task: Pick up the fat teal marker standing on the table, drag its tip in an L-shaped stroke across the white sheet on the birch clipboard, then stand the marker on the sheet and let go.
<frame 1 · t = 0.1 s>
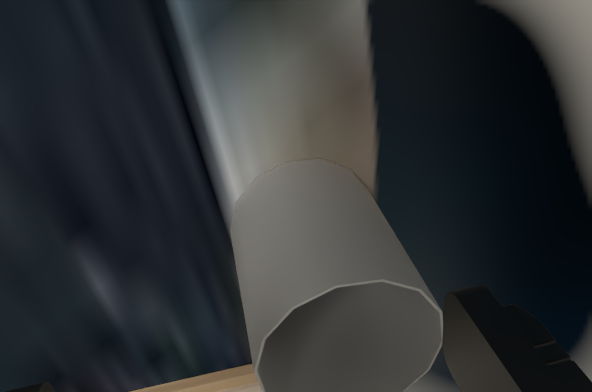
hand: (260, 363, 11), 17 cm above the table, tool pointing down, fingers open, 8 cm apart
cup: (301, 220, 31), on the table
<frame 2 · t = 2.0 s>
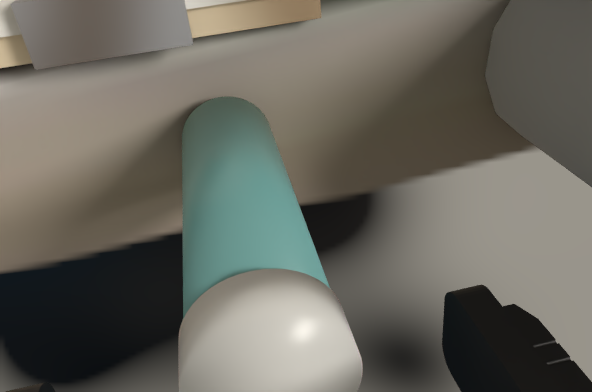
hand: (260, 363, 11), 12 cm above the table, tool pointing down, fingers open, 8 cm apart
cup: (577, 45, 22), on the table
marker: (226, 132, 21), on the table
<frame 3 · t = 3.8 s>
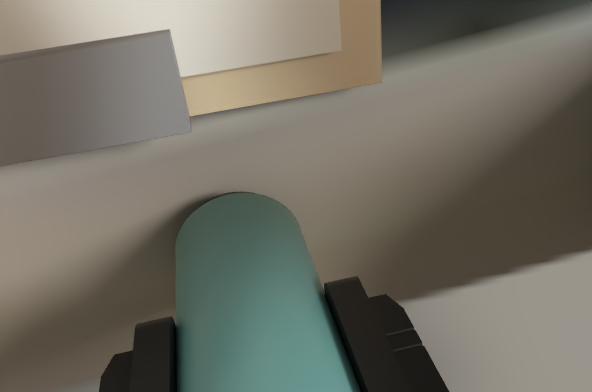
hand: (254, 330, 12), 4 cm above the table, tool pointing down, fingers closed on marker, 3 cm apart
marker: (237, 235, 15), on the table, touching gripper
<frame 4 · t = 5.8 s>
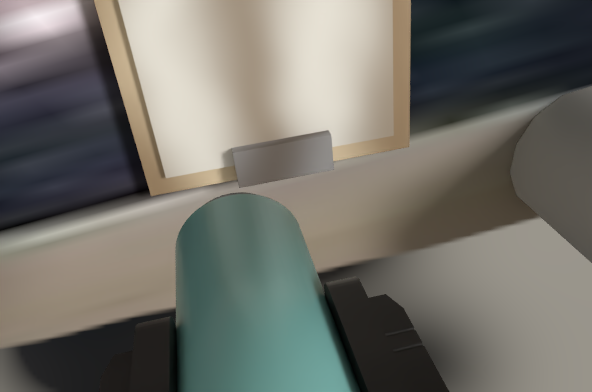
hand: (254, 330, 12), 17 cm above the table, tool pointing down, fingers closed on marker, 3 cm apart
cup: (572, 151, 32), on the table
marker: (238, 236, 15), point 13 cm above the table, touching gripper
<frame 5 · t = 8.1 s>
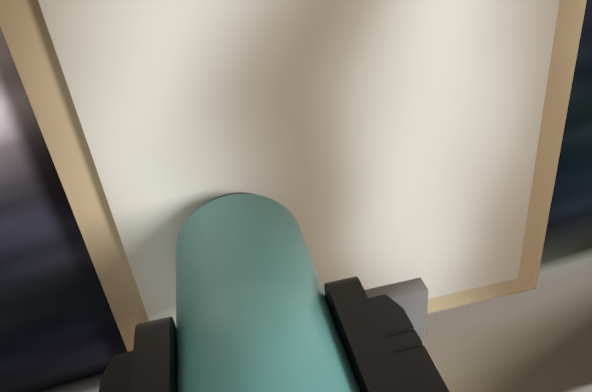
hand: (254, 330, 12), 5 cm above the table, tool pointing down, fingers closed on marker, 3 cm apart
marker: (237, 236, 15), point 1 cm above the table, touching gripper
clipboard: (316, 29, 13), on the table
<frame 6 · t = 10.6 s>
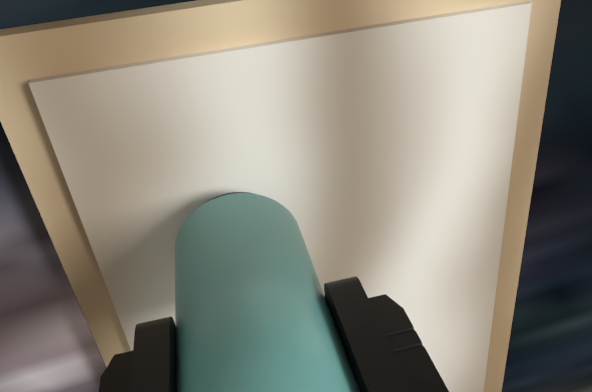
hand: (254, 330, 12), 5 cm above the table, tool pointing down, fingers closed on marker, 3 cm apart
marker: (237, 235, 15), point 1 cm above the table, touching clipboard, gripper
clipboard: (315, 297, 18), on the table
when the fingers open (5 cm above the table, at t = 12.5 s): marker stays where it is, resting on clipboard.
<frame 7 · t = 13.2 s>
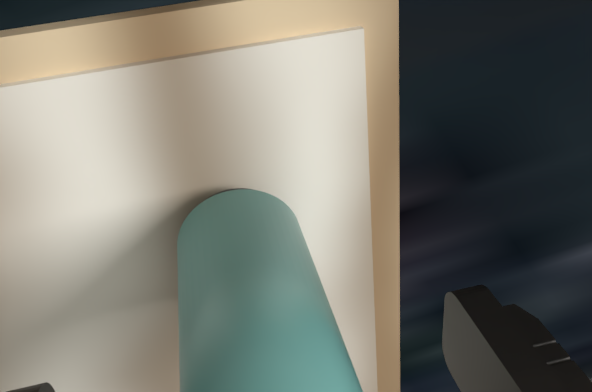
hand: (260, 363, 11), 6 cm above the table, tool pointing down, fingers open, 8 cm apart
marker: (237, 231, 15), point 1 cm above the table, touching clipboard
clipboard: (193, 319, 18), on the table
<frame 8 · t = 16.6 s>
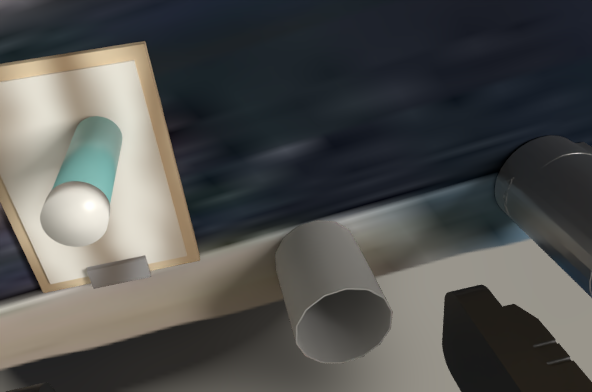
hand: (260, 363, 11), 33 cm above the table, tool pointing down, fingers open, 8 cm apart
cup: (316, 254, 52), on the table
marker: (99, 134, 40), point 1 cm above the table, touching clipboard
clipboard: (90, 176, 43), on the table
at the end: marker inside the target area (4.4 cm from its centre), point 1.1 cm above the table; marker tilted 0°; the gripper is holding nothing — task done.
